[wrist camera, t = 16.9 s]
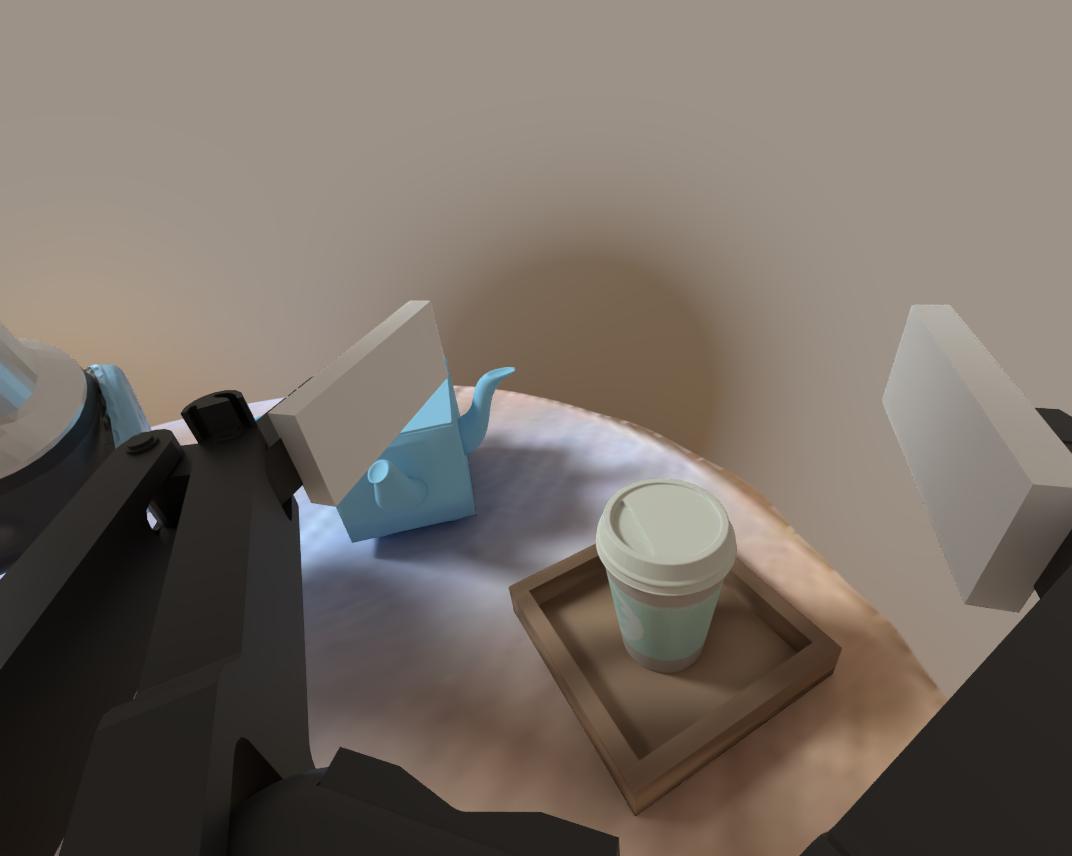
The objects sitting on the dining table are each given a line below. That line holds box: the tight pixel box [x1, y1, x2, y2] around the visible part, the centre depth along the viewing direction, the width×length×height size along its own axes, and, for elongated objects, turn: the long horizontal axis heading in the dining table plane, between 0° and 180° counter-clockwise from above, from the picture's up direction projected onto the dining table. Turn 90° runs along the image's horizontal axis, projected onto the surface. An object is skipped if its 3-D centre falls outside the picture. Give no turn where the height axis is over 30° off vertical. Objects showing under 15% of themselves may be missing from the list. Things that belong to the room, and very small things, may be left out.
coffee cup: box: [596, 479, 737, 673], centre depth 35 cm, size 8×8×12 cm
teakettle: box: [254, 356, 515, 543], centre depth 52 cm, size 19×19×15 cm
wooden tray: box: [509, 544, 842, 816], centre depth 38 cm, size 16×16×3 cm
